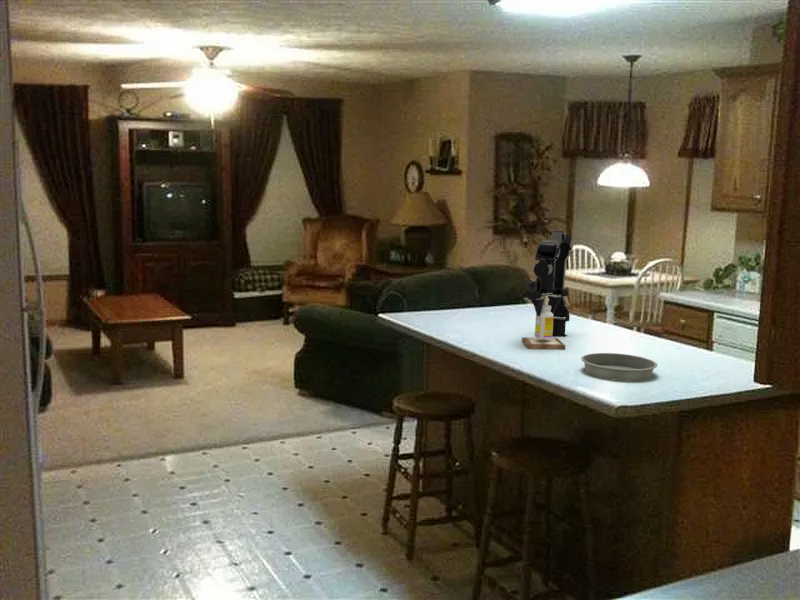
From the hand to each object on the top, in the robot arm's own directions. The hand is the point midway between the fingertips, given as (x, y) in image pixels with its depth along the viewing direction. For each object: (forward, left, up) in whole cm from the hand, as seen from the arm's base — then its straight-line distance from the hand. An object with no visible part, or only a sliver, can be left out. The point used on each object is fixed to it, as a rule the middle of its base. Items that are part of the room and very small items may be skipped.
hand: (544, 315), depth 316 cm
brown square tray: (0, 0, -12) cm, 12 cm away
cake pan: (-17, +43, -12) cm, 48 cm away
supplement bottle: (0, 0, -9) cm, 9 cm away
